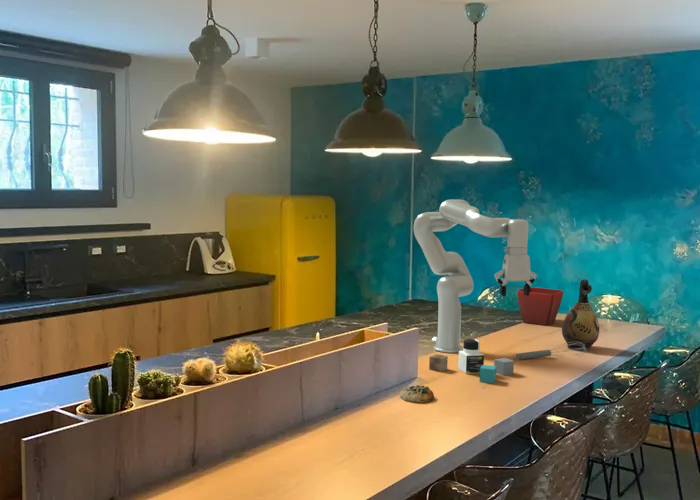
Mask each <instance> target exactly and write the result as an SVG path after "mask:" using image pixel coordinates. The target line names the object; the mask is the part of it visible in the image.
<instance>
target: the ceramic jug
mask: <svg viewBox="0 0 700 500" xmlns="http://www.w3.org/2000/svg"><path fill="white" fill-rule="evenodd" d="M578 290H579V294H578V301H577V302H576V303H575V304H574V305H573V306H572V307H571V309H570V310H569V311H568V313H567V314H566V315H565V317H564V320H563V322H562V326H561V335H562V337H563V340H565V343H566V345H568V346H567V349H568V350H569V349H572V350H573V351H578V352H579V351H580V352H581V351H583V350H584V349H583V348H586V349H585V350H584V351H586V350H587V351H589V350H590V348H591V347H592V345H594V344H595V343H596V342H597V340H598V339H599V335H600V325H599V319H598V317H597V314H596V313H595V311H594V309H593V307H592V306H591V304H590V302H589V298H588V295H589V294H590V293H592V290H593V287H592V285H591V284H590V285H589V280H588V279H586V278H584V279H581V280H580V283H579V289H578ZM569 342H570V343H569ZM579 342H580V343H579ZM574 343H576V345H575V344H574ZM581 343H583V345H584V346H583V345H582V344H581ZM569 344H570V345H569ZM580 345H581V346H580ZM577 348H579V349H580V350H578V349H577Z"/></svg>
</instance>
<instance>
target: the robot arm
mask: <svg viewBox="0 0 700 500" xmlns="http://www.w3.org/2000/svg"><path fill="white" fill-rule="evenodd" d="M438 209H439V211H427V212H423V213H420V214H418V215H417V216H416V218H415V219H414V224H413V233H414V237H415V239H416V241H417V243H418V245H419V246H420V248H421V250H422V252H423V254H424V257H425V259H426V261H427V263H428V266H429V268H430V269H431V272H433V274H434V275H436V276H437V275H438V276H439V275H440V276H443V275H444V276H443V277H440V278H439V280H438V281H437V284H436V293H437V299H438V301H437V302H438V306H437V307H438V308H437V309H438V310H437V311H438V314H437V315H438V316H437V318H438V319H437V336H433V338H431V342H434V343H435V344H434V345H433V350H434V351H437V352H440V353H452V354H453V353H454V354H457V353H459V351H464V350H463V345H461V330H462V329H461V328H462V327H461V326H462V304H461V301H460V297H465V296H469V295H471V294H472V292H473V291H474V287H475V286H474V280H473V277H472V275H471V273H470V271H469V269H468V267H467V265H466V263H465V261H464V258H463V257H462V256H461V255H460V254H459V253H458V252H455V251H446V249H445V248H444V247H443V244H442V242H441V241H440V240H441V239H439V238H438V237H437V236H436V234H434V232H435V233H436V232H437V233H438V232H446V231H448V230H451V229H452V228H453V227H456V226H457V225H458V224H459V225H460V226H461V225H462V226H464V227H467V228H468V229H469V230H471V231H472V232H473V233H476V234H479V235H482V236H483V237H487V238H507V240H506V242H507V244H506V248H503V252H504V253H506V254H505V255H504V258H503V261H502V262H503V263H502V269H501V270H499V271H498V272H496V273H494V275H493V276H494V278H495V280H496V282H497V283H498V284H499V294H500V296H502V297H506V296H507V284H508V282H524V285H523V288H524V295H526V296H529V293H530V287H532V284H533V283H534V282H535V280H536V278H537V276H538V274H537V273H535V272H533V271H532V270H531V259H530V255H528V241H529V221H527V219H519V218H518V219H512V218H509V217H489V216H486V215H483V214H480V210H479V209H478V208H477V207H475V206H473V205H471V204H470V203H469V202H468V201H466V200H465V199H446V200H444V201H442V203H441V204H440V206H439V208H438ZM500 276H501V278H500Z"/></svg>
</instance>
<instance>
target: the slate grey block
mask: <svg viewBox="0 0 700 500" xmlns="http://www.w3.org/2000/svg"><path fill="white" fill-rule="evenodd" d="M493 362H494V363H493V366H496V375H497V374H498V375H500V376H503V377H504V376H509V375H513V374H514V371H515V370H514V369H515V368H514V367H515V366H514V365H515V360H514V359H513V360H511V359H509V358H507V357H501V358H494V361H493Z"/></svg>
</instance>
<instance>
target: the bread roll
mask: <svg viewBox="0 0 700 500" xmlns="http://www.w3.org/2000/svg"><path fill="white" fill-rule="evenodd" d="M434 395H435V393H434V392H433V390H432V389H430V388H429V387H428V386H425V385H412V386H408V387H406V388H403V389H402V390H401V391H400V392H399V398H400V399H401V400H403V401H405V402H411V403H421V404H423V403H424V404H425V403H428V402H431V401H433V400H434V398H435V396H434Z"/></svg>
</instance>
